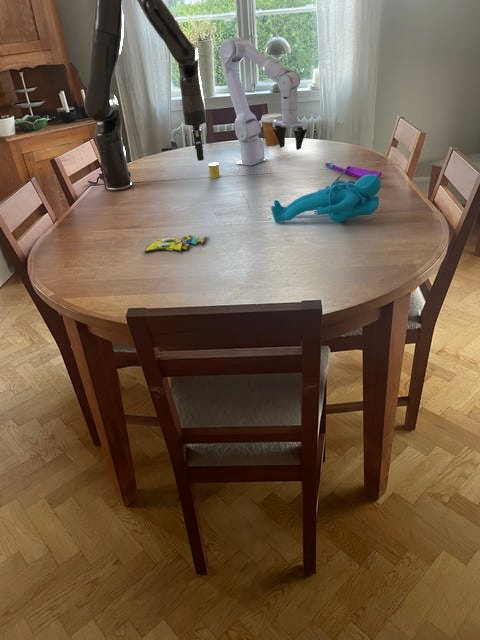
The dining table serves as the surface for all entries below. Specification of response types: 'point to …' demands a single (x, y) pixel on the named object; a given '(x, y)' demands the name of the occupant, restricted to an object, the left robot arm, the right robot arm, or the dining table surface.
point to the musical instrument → (353, 171)
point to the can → (214, 170)
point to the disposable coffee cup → (270, 127)
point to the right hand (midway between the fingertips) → (290, 148)
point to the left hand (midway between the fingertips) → (200, 157)
